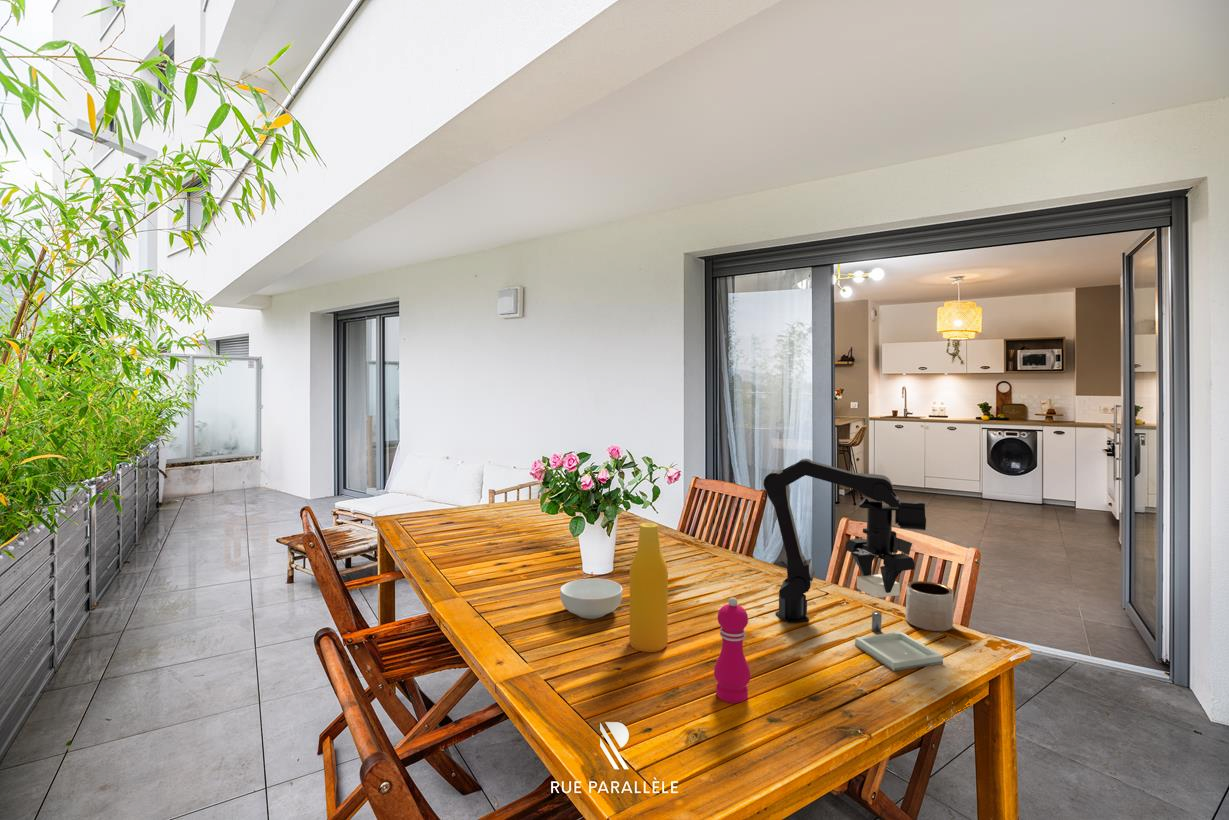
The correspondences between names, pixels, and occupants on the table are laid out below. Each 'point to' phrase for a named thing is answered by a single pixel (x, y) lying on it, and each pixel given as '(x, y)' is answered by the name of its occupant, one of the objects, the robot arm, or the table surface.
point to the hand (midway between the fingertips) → (877, 587)
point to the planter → (929, 606)
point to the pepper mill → (732, 654)
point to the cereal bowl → (591, 597)
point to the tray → (898, 651)
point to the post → (876, 621)
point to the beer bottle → (648, 593)
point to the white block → (876, 586)
